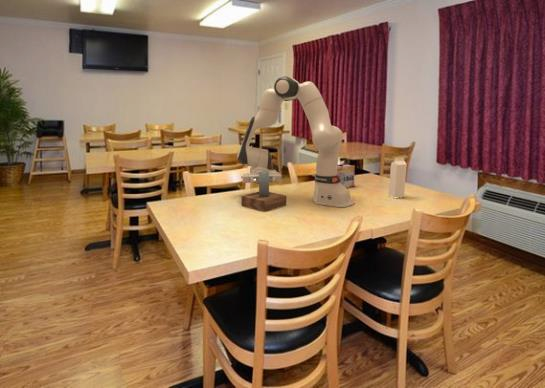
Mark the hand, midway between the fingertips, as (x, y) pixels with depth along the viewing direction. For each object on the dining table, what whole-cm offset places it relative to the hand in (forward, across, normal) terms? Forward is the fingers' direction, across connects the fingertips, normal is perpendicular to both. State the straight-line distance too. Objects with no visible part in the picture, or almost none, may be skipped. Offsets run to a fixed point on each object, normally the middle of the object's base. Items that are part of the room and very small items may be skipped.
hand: (264, 181), depth 194 cm
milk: (-6, +75, +13) cm, 77 cm away
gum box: (-34, +50, +13) cm, 62 cm away
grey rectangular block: (0, 0, +8) cm, 8 cm away
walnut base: (0, 0, +12) cm, 13 cm away
